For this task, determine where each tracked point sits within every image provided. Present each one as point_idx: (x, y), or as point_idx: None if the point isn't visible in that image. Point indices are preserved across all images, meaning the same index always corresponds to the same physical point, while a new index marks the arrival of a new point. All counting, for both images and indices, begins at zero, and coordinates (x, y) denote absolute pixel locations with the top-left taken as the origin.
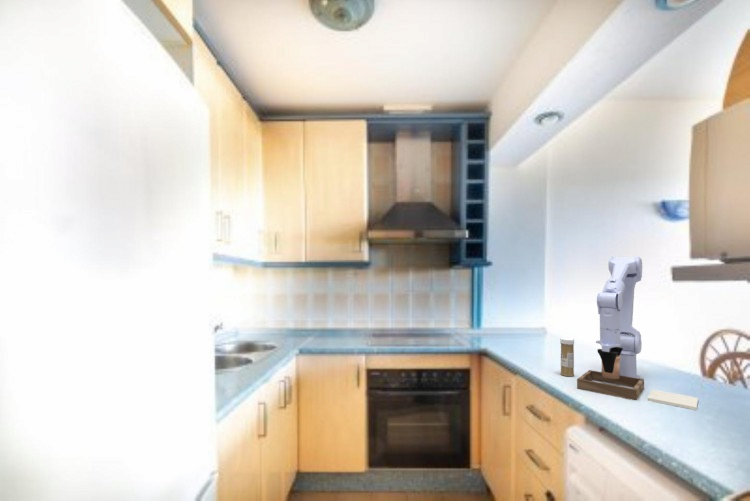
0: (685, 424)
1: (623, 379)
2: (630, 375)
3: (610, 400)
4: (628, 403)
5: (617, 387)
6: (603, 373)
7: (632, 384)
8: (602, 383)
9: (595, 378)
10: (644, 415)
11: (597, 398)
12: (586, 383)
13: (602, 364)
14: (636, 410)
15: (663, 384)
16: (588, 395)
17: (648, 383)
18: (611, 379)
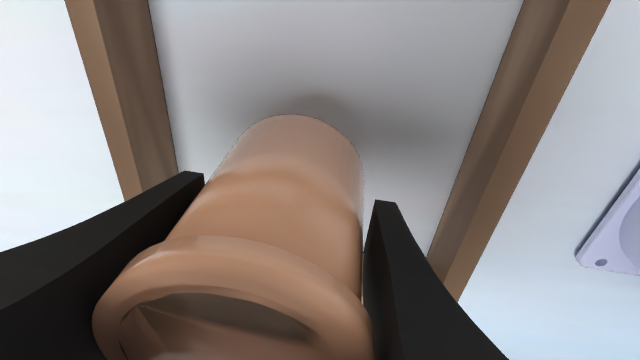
0: None
1: (457, 225)
2: (637, 266)
3: (59, 138)
4: (96, 205)
5: (127, 199)
6: (237, 144)
7: (438, 247)
8: (113, 120)
9: (525, 13)
10: (7, 241)
11: (20, 75)
12: None
13: (211, 187)
14: (34, 225)
15: (590, 347)
16: (19, 17)
17: (584, 302)
18: (480, 148)
